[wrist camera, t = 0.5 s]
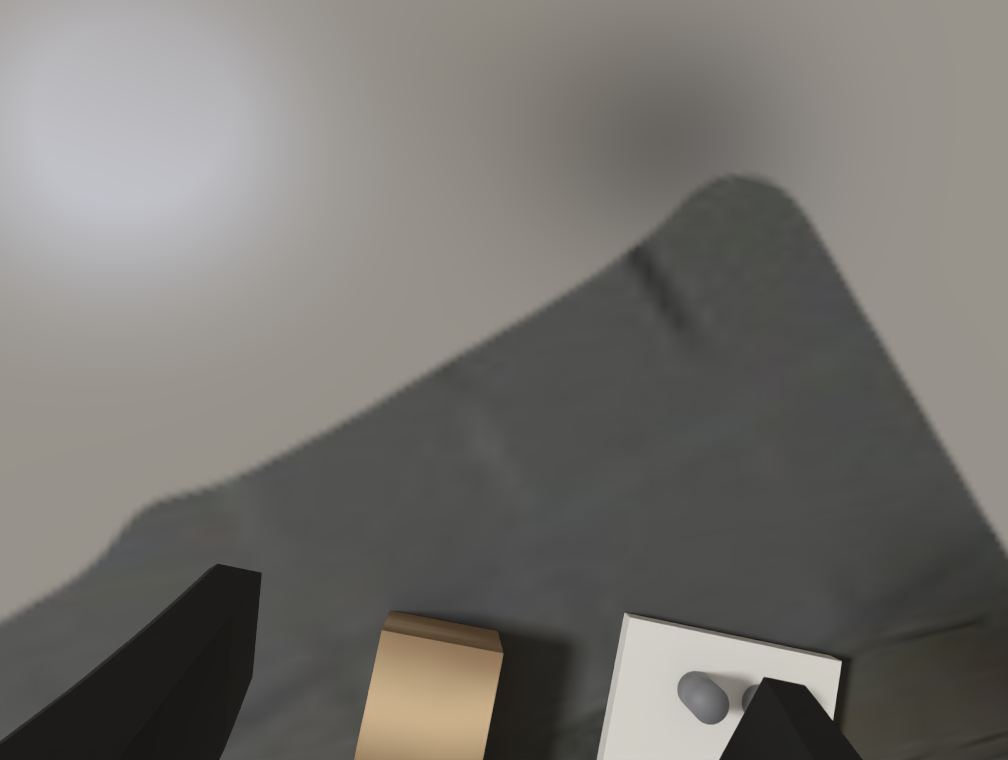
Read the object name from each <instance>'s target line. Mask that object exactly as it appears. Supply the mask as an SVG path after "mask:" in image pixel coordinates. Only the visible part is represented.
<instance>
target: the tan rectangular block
mask: <svg viewBox="0 0 1008 760" xmlns="http://www.w3.org/2000/svg"><path fill="white" fill-rule="evenodd" d="M502 659H503V649H502V645H501V642H500V638H499V634H498V631H495V630H489V629H484V628H479V627H474V626H468V625H463V624H458V623H453V622H448V621H442V620H437V619H432V618H427V617H422V616H416V615H411V614H406V613H401V612H395V611H390V612H389V614H388V617H387V619H386V622H385V624H384V626H383V629H382V632H381V637H380V642H379V646H378V651H377V656H376V660H375V665H374V670H373V674H372V679H371V684H370V688H369V693H368V698H367V702H366V707H365V712H364V716H363V721H362V725H361V730H360V735H359V739H358V744H357V749H356V753H355V758H354V760H483V756H484V751H485V746H486V741H487V736H488V731H489V725H490V720H491V715H492V710H493V705H494V700H495V695H496V689H497V684H498V679H499V674H500V669H501V664H502Z"/></svg>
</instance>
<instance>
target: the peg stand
mask: <svg viewBox="0 0 1008 760" xmlns="http://www.w3.org/2000/svg"><path fill="white" fill-rule="evenodd" d="M841 664H842V661H840V660H838V659H836V658H834V657H832V656H830V655H825V654H821V653H816V652H811V651H806V650H802V649H797V648H792V647H787V646H782V645H778V644H773V643H768V642H763V641H758V640H754V639H749V638H744V637H739V636H735V635H730V634H725V633H720V632H715V631H711V630H706V629H701V628H696V627H691V626H687V625H682V624H677V623H672V622H668V621H663V620H658V619H653V618H648V617H644V616H639V615H634V614H629V613H624V618H623V624H622V629H621V634H620V639H619V645H618V650H617V655H616V661H615V666H614V671H613V676H612V682H611V687H610V692H609V697H608V703H607V708H606V713H605V719H604V724H603V729H602V734H601V740H600V745H599V750H598V756H597V760H719V759H720V757H721V755H722V753H723V751H724V750H725V748H726V746H727V744H728V742H729V740H730V738H731V737H732V735H733V733H734V731H735V729H736V727H737V725H738V724H739V722H740V720H741V718H742V716H743V714H744V713H745V711H746V709H747V707H748V705H749V703H750V701H751V700H752V698H753V696H754V694H755V692H756V690H757V688H758V687H759V685H760V683H761V681H762V679H763V677H768V678H773V679H778V680H783V681H788V682H792V683H797V684H802V685H805V686H806V687H807V688H808V689H809V691H810V692H811V693H812V694H813V696H814V697H815V698H816V699H817V701H818V702H819V703H820V705H821V706H822V707H823V708H824V710H825V711H826V712H827V714H828V715H829V716H830V718H831V719H832V720H833V717H834V710H835V704H836V697H837V691H838V684H839V678H840V671H841Z"/></svg>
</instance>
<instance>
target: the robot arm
mask: <svg viewBox="0 0 1008 760" xmlns="http://www.w3.org/2000/svg"><path fill="white" fill-rule="evenodd" d="M261 575H262V573H260V572H255V571H250V570H245V569H241V568H236V567H231V566H226V565H221V564H217V565H215V566H213V567H211V568H209V569H208V570H207V571H206V572H205V573H204V574H203V575H202V576H201V577H200V578H199V579H198V580H197V581H195V582H194V583H193V584H192V585H191V586H190V587H189V588H188V589H187V590H186V591H185V592H183V593H182V594H181V595H180V596H179V597H178V598H177V599H176V600H175V601H174V602H172V603H171V604H170V605H169V606H168V607H167V608H166V609H165V610H164V611H162V612H161V613H160V614H159V615H158V616H157V617H156V618H154V619H153V620H152V621H151V622H150V623H149V624H147V625H146V626H145V627H144V628H143V629H142V630H141V631H139V632H138V633H137V634H136V635H135V636H134V637H132V638H131V639H130V640H129V641H128V642H126V643H125V644H124V645H123V646H122V647H120V648H119V649H118V650H117V651H115V652H114V653H113V654H112V655H111V656H109V657H108V658H107V659H106V660H105V661H103V662H102V663H101V664H100V665H98V666H97V667H96V668H95V669H94V670H92V671H91V672H90V673H89V674H88V675H86V676H85V677H84V678H83V679H81V680H80V681H79V682H78V683H76V684H75V685H74V686H73V687H71V688H70V689H69V690H67V691H66V692H65V693H63V694H62V695H61V696H59V697H58V698H57V699H56V700H54V701H53V702H52V703H50V704H49V705H48V706H46V707H45V708H44V709H42V710H41V711H40V712H38V713H37V714H36V715H34V716H33V717H32V718H30V719H29V720H28V721H26V722H25V723H24V724H22V725H21V726H20V727H18V728H17V729H16V730H14V731H13V732H12V733H10V734H9V735H8V736H6V737H5V738H4V739H2V740H1V741H0V760H219V759H220V757H221V755H222V753H223V751H224V749H225V746H226V744H227V741H228V738H229V736H230V733H231V731H232V728H233V726H234V723H235V721H236V718H237V716H238V713H239V710H240V708H241V705H242V702H243V700H244V697H245V695H246V692H247V689H248V687H249V684H250V681H251V679H252V675H253V664H254V653H255V642H256V631H257V620H258V609H259V597H260V586H261ZM719 760H862V759H861V757H860V756H859V755H858V753H857V752H856V751H855V749H854V748H853V747H852V745H851V744H850V743H849V741H848V740H847V739H846V737H845V736H844V735H843V733H842V732H841V731H840V729H839V728H838V727H837V725H836V724H835V723H834V721H833V720H832V719H831V718H830V716H829V715H828V714H827V712H826V711H825V710H824V708H823V707H822V706H821V705H820V703H819V702H818V701H817V699H816V698H815V697H814V696H813V694H812V693H811V692H810V691H809V689H808V688H807V687H806V686H805V685H802V684H797V683H792V682H788V681H783V680H778V679H773V678H768V677H763V679H762V681H761V683H760V685H759V687H758V688H757V690H756V692H755V694H754V696H753V698H752V700H751V701H750V703H749V705H748V707H747V709H746V711H745V713H744V714H743V716H742V718H741V720H740V722H739V724H738V725H737V727H736V729H735V731H734V733H733V735H732V737H731V738H730V740H729V742H728V744H727V746H726V748H725V750H724V751H723V753H722V755H721V757H720V759H719Z"/></svg>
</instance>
